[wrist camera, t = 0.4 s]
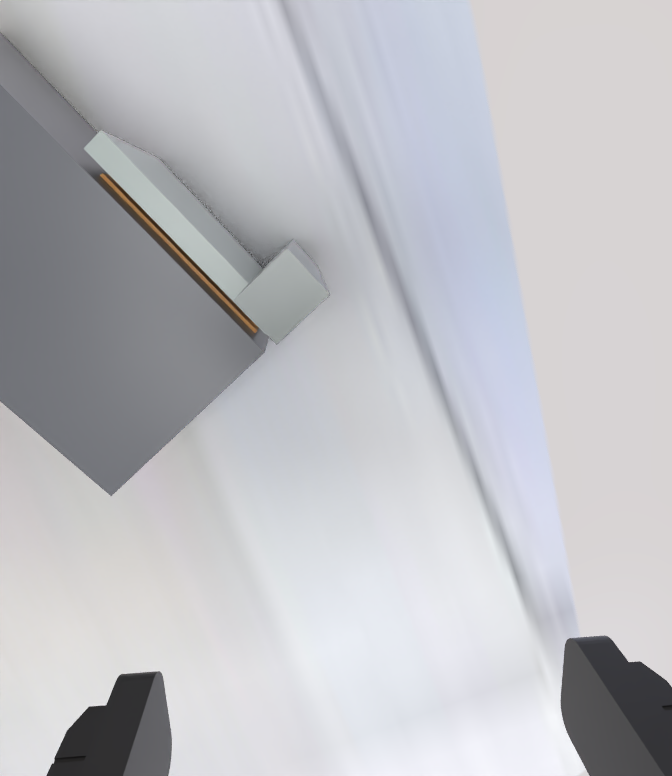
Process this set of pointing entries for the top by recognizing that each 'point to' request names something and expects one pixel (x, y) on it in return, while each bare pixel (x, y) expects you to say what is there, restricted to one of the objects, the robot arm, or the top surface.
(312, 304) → the side door
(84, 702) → the top surface
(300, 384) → the top surface
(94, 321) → the block
